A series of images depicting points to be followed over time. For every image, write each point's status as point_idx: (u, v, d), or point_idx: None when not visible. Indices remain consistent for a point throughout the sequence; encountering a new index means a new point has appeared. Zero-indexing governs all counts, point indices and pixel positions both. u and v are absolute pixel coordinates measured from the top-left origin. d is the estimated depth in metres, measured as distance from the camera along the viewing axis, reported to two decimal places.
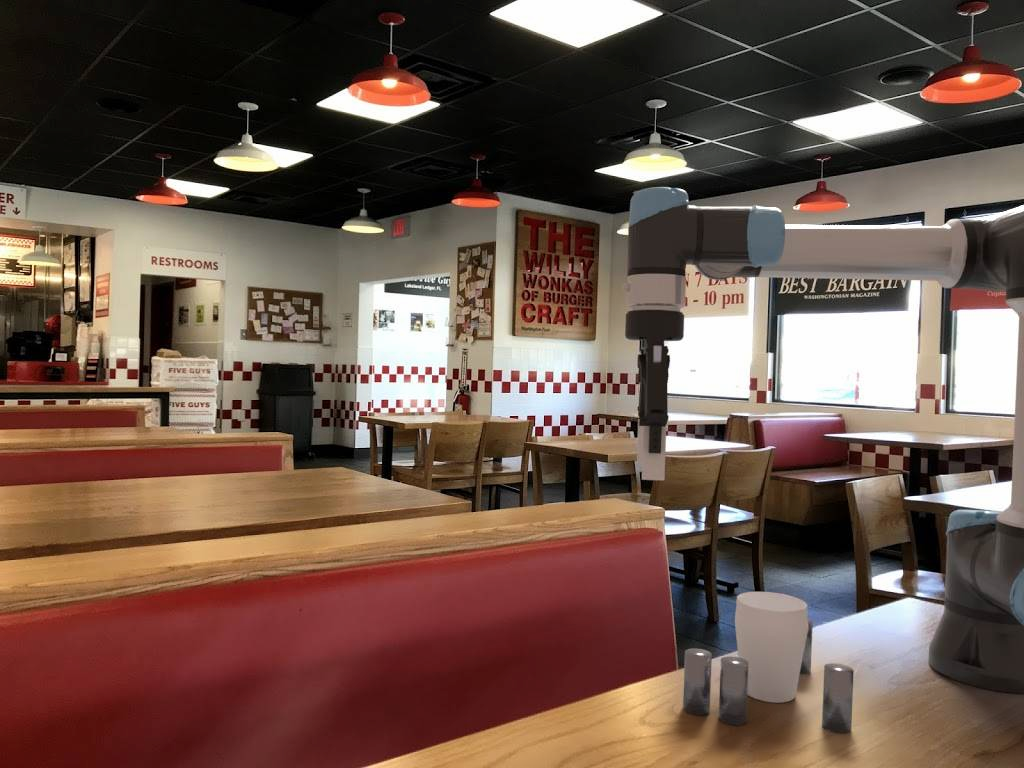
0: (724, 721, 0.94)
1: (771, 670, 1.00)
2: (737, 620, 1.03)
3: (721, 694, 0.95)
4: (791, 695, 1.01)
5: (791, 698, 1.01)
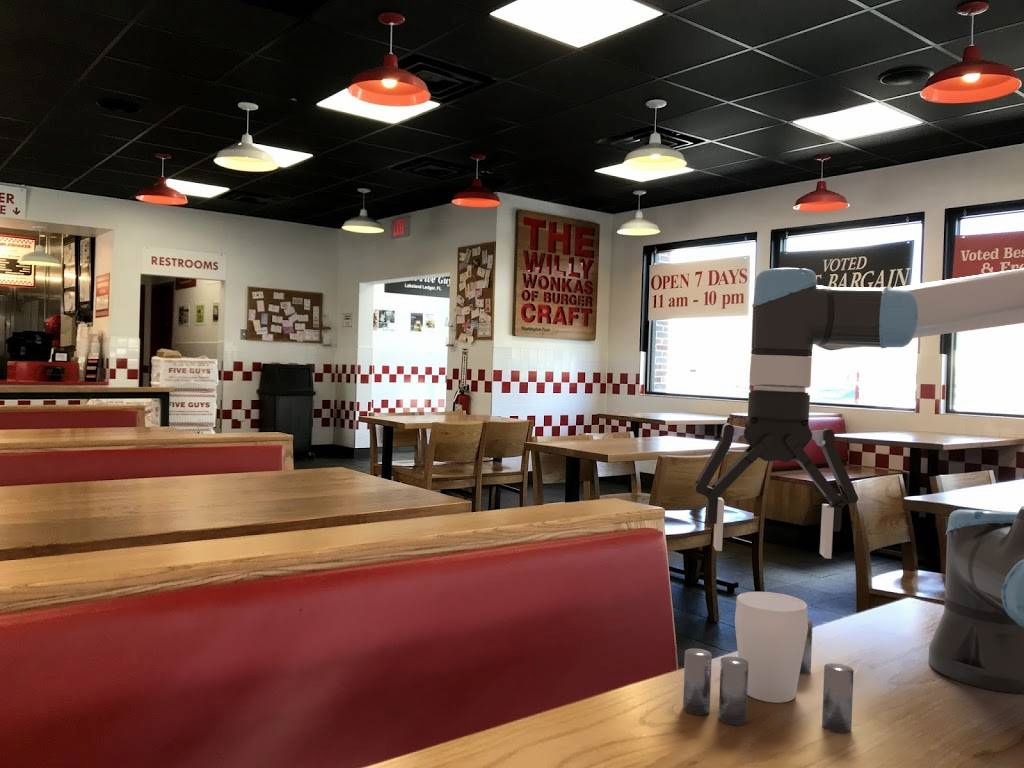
0: (724, 721, 0.94)
1: (771, 670, 1.00)
2: (736, 620, 1.03)
3: (721, 694, 0.95)
4: (791, 695, 1.01)
5: (791, 698, 1.01)
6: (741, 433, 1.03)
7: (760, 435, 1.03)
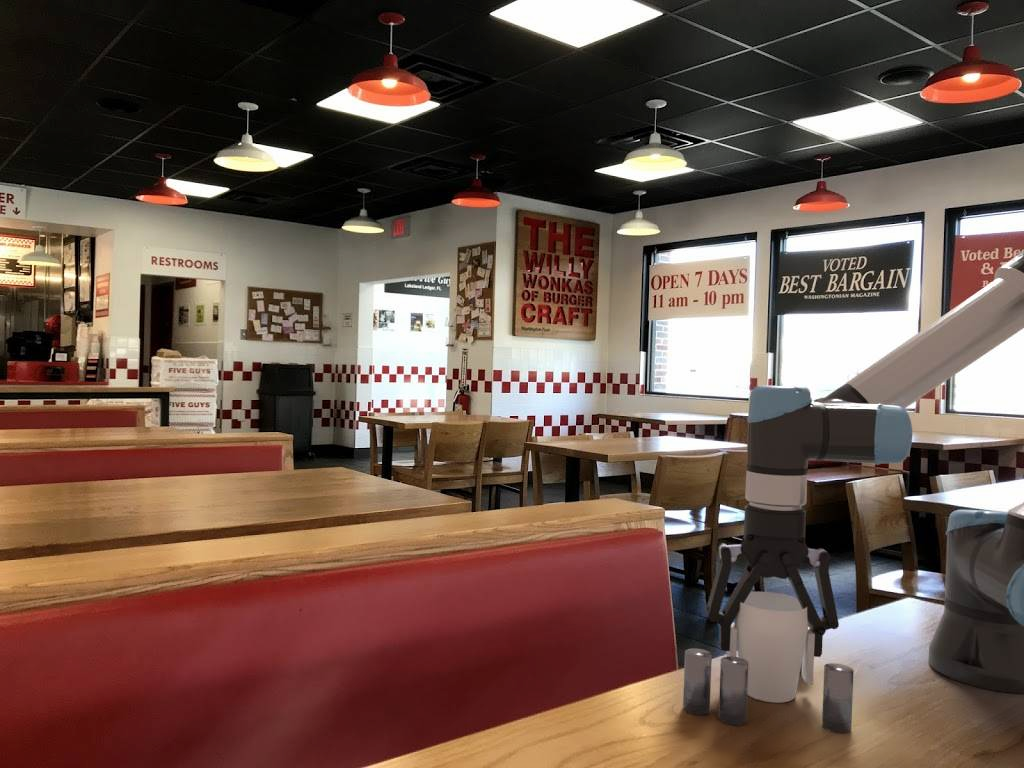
0: (724, 721, 0.94)
1: (771, 670, 1.00)
2: (737, 620, 1.03)
3: (721, 694, 0.95)
4: (791, 695, 1.01)
5: (791, 698, 1.01)
6: (738, 552, 1.03)
7: (757, 550, 1.02)
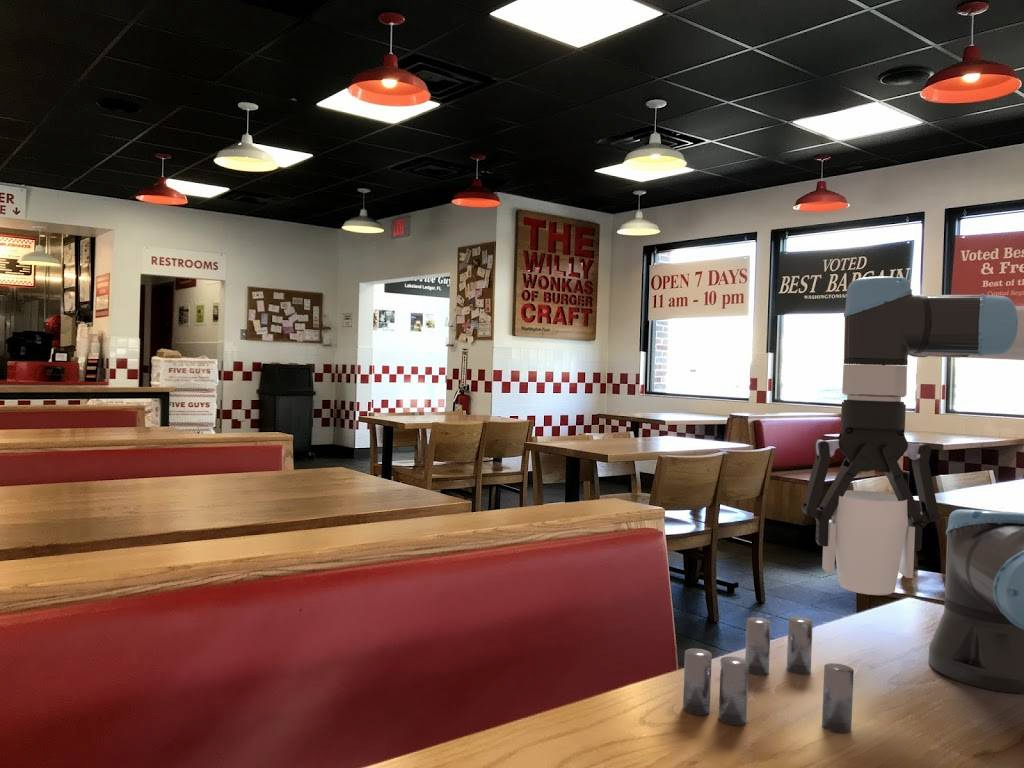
0: (724, 721, 0.94)
1: (873, 562, 0.99)
2: (835, 514, 1.02)
3: (721, 694, 0.95)
4: (892, 588, 1.00)
5: (892, 591, 1.00)
6: (836, 446, 1.03)
7: (856, 444, 1.02)
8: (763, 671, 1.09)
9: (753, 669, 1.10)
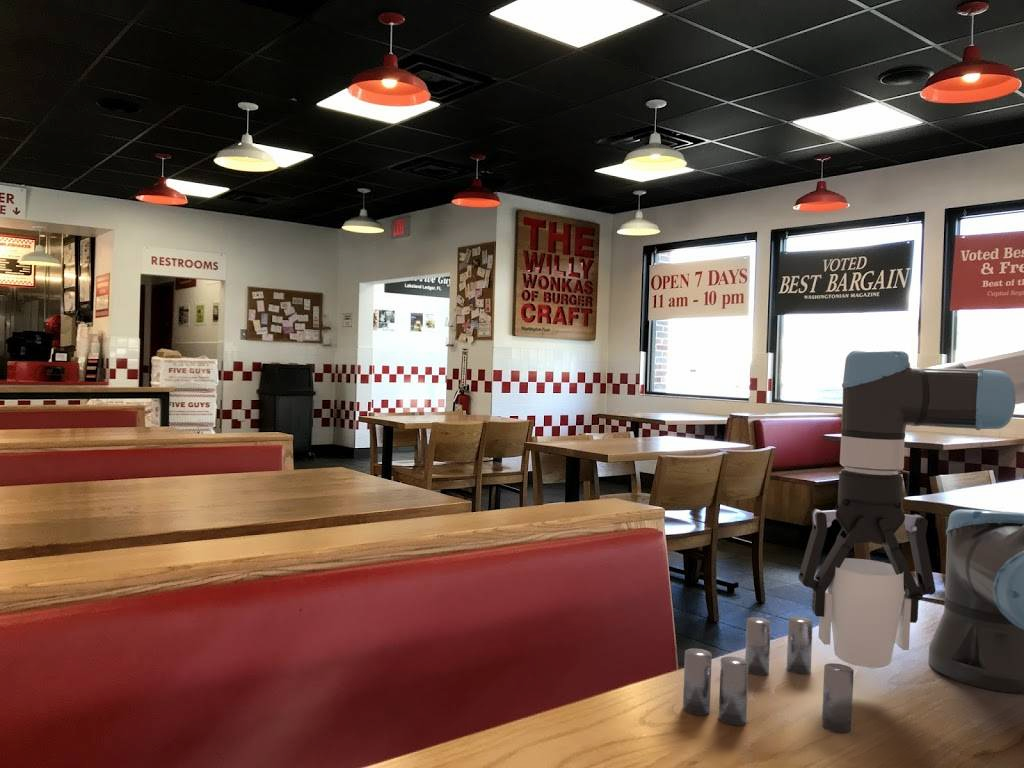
0: (724, 721, 0.94)
1: (869, 635, 0.99)
2: (831, 585, 1.03)
3: (721, 694, 0.95)
4: (888, 660, 1.01)
5: (888, 663, 1.01)
6: (833, 517, 1.03)
7: (853, 515, 1.02)
8: (763, 671, 1.09)
9: (753, 669, 1.10)
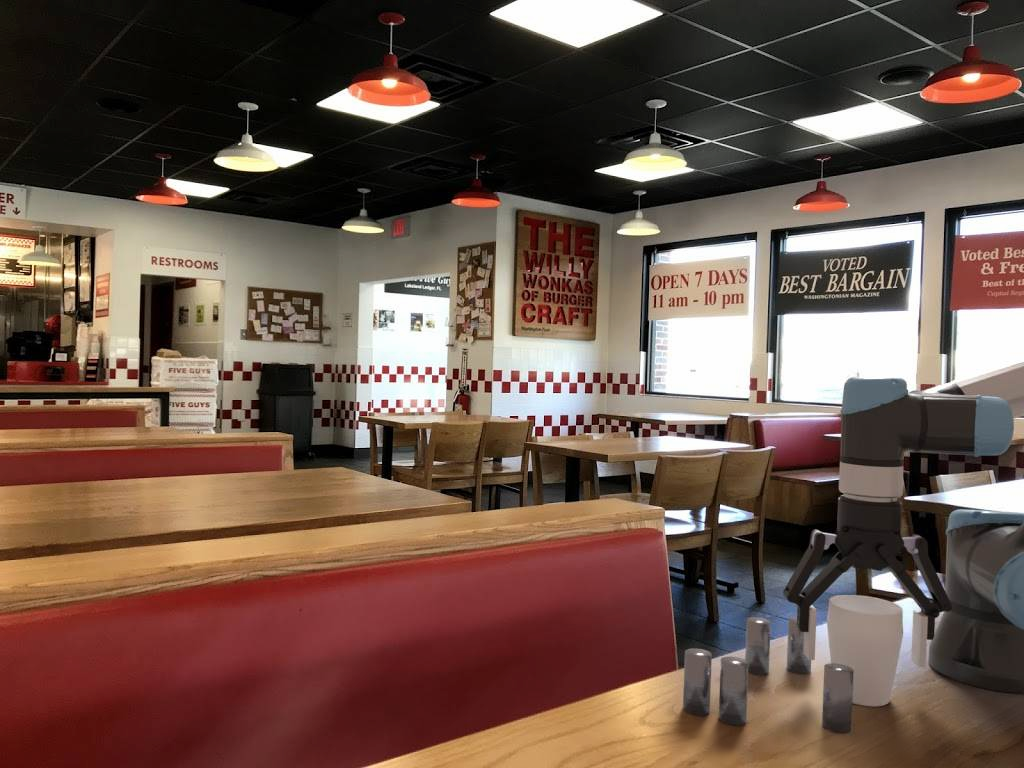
0: (724, 721, 0.94)
1: (868, 674, 0.99)
2: (830, 623, 1.03)
3: (721, 694, 0.95)
4: (887, 699, 1.01)
5: (887, 702, 1.01)
6: (832, 541, 1.03)
7: (852, 544, 1.02)
8: (763, 671, 1.09)
9: (753, 669, 1.10)
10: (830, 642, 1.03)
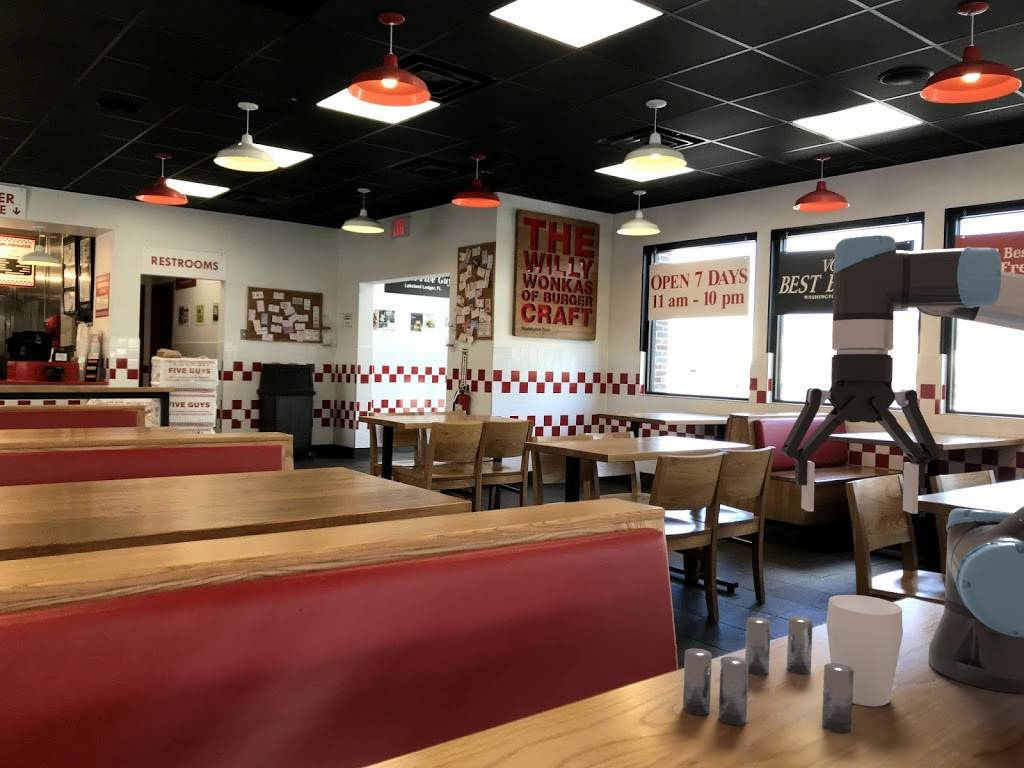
0: (724, 721, 0.94)
1: (868, 674, 0.99)
2: (830, 623, 1.03)
3: (721, 694, 0.95)
4: (887, 699, 1.01)
5: (887, 702, 1.01)
6: (827, 396, 1.07)
7: (846, 397, 1.06)
8: (763, 671, 1.09)
9: (753, 669, 1.10)
10: (830, 642, 1.03)
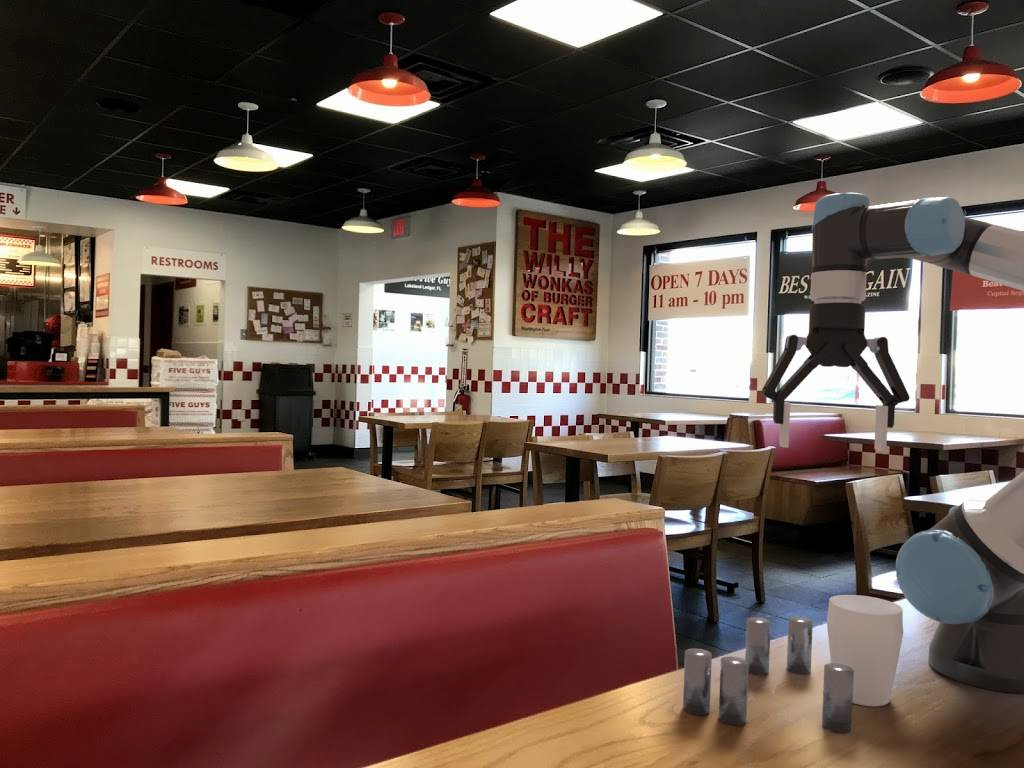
0: (724, 721, 0.94)
1: (868, 674, 0.99)
2: (830, 623, 1.03)
3: (721, 694, 0.95)
4: (887, 699, 1.01)
5: (887, 702, 1.01)
6: (804, 342, 1.16)
7: (821, 343, 1.15)
8: (763, 671, 1.09)
9: (753, 669, 1.10)
10: (830, 642, 1.03)
